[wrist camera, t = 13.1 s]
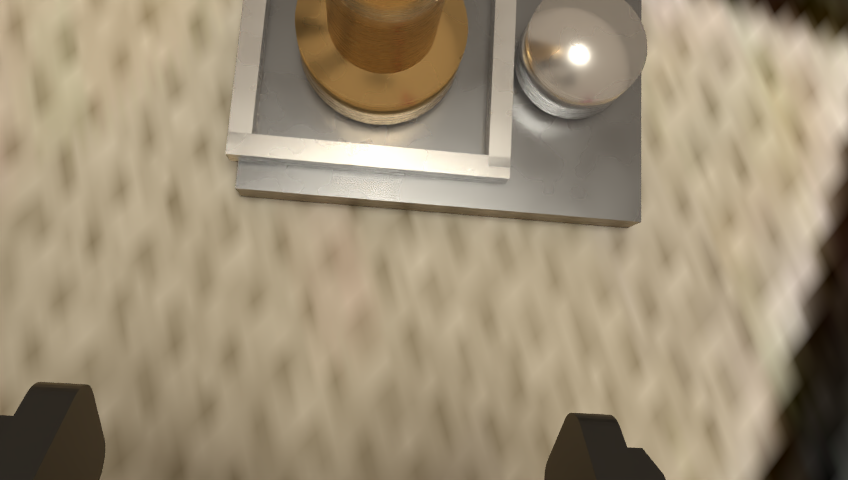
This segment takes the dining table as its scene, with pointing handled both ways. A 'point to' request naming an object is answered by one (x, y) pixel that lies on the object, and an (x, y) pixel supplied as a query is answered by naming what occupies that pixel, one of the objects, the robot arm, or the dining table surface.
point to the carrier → (459, 120)
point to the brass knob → (381, 54)
